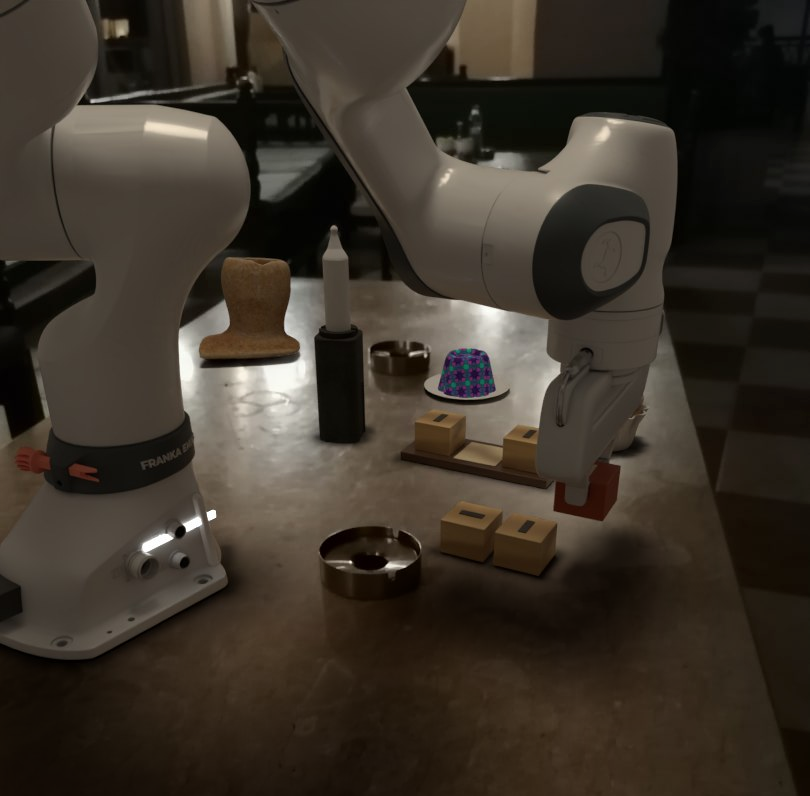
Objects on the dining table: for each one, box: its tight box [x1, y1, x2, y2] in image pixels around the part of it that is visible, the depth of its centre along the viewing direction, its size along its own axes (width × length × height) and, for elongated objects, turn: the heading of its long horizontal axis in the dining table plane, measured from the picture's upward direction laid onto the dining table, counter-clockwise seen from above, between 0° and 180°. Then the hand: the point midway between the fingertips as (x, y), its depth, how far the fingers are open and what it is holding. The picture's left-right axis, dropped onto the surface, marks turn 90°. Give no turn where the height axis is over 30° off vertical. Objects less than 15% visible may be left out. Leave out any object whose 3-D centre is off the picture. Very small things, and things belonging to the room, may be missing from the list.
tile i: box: [439, 500, 504, 563], centre depth 87 cm, size 4×4×4 cm
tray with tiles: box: [400, 409, 554, 490], centre depth 104 cm, size 7×18×5 cm, turn 62°
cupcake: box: [612, 394, 650, 453], centre depth 108 cm, size 9×9×10 cm
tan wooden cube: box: [493, 512, 559, 577], centre depth 84 cm, size 4×4×4 cm
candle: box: [313, 225, 366, 444], centre depth 107 cm, size 5×5×25 cm
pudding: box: [423, 347, 511, 401], centre depth 126 cm, size 12×12×5 cm
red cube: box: [552, 461, 622, 522], centre depth 80 cm, size 4×4×4 cm
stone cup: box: [198, 256, 301, 360], centre depth 139 cm, size 15×12×15 cm
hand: (586, 488), depth 80 cm, fingers closed on red cube, 4 cm apart
